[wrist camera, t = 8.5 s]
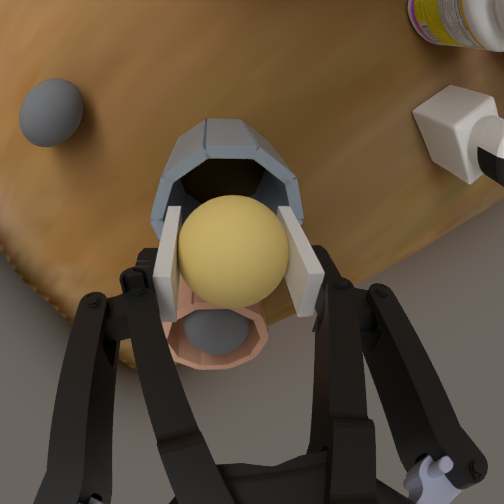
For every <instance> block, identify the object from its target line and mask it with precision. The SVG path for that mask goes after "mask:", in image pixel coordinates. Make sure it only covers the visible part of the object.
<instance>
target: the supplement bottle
mask: <svg viewBox="0 0 504 504" xmlns="http://www.w3.org/2000/svg"><path fill="white" fill-rule="evenodd" d="M408 15H409V18H410V21H411V23H412V25H413V27H414V28H415V30H416V31H417V32H418V34H419V35H420V36H422V37H423V38H424V39H425V40H427V41H428V42H430V43H433V44H437V45H448V46H460V47H469V48H477V49H483V50H489V51H495V52H504V0H409V1H408Z"/></svg>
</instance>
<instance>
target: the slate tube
mask: <svg viewBox="0 0 504 504" xmlns="http://www.w3.org/2000/svg"><path fill="white" fill-rule="evenodd" d="M208 158H226V159H254V160H255V161H256V162H258V163H259V164H260V165H262V166H263V167H264V168H265V169H266V170H265V173H264V175H263V177H262V179H261V182H260V184H259V186H258V188H257V191H256V193H255V194H253V195H251V196H250V197H249V198H252V199H254V200H256V201H259V202H261V203H262V204H264V205H265V206H267V207H268V208H269V209H270V210H271V211H272V212H273V213H274V214H275V215H276V216H277V210H278V206H290V207H291V209H292V211H293V213H294V215H295V217H296V218H297V220H298V222H299V224H300V226H301V225H302V223H303V218H304V215H303V209H302V203H301V198H300V192H299V187H298V181H297V178H296V177H295V175H294V173H293V172H292V171H291V169H290V168H289V167H288V165H287V164H286V163H285V162H284V160H283V159H282V158H281V156H280V155H279V154H278V152H277V151H276V150H275V149H274V147H273V146H272V145H271V144H270V142H269V141H268V140H267V139H266V138H265V137H264V136H263V135H261V134H260V133H259V132H257V131H256V130H255V129H254V128H252V127H251V126H250V125H249V124H247V123H246V122H245V121H243V120H242V121H241V120H240V119H221V118H207V121H206V120H205V119H204V120H203V121H201V122H200V123H198V124H197V125H195V126H194V127H193V128H191V129H190V130H188V131H187V132H185V133H184V134H183V135H181V136H180V137H178V139H177V141H176V143H175V145H174V148H173V150H172V152H171V154H170V157H169V159H168V161H167V164H166V166H165V169H164V171H163V174H162V176H161V179H160V182H159V186H158V189H157V193H156V197H155V201H154V204H153V208H152V212H151V216H150V219H151V221H150V222H151V224H152V227H153V229H154V231H155V233H156V235H157V237H158V239H159V241H160V239H161V235H162V231H163V226H164V222H165V218H166V214H167V210H168V206H181V218H182V226H183V224H184V222H185V221H186V219H187V218H188V217H189V215H190V214H191V213H192V212H193V211H194V210H195V209H197V208H198V207H199V206H200V205H202V203H200V202H199V201H197V200H196V199H194V198H193V197H191V196H190V195H188V194H187V193H185V190H184V187H183V185H182V182H181V179H180V178H181V177H182V176H184V175H185V174H186V173H188V172H189V171H191V170H192V169H194V168H195V167H196V166H198V165H199V164H201V163H202V162H204V161H205V160H207V159H208Z"/></svg>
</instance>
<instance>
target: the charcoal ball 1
mask: <svg viewBox="0 0 504 504" xmlns="http://www.w3.org/2000/svg"><path fill="white" fill-rule="evenodd" d="M83 110H84V105H83V99H82V96H81V93H80V91H79V90H78V88H77V87H76V86H75V85H74V84H72V83H71V82H69V81H67V80H64V79H50V80H46V81H44V82H42V83H40V84H38V85H37V86H35V87H34V88H33V89H32V90H31V91H30V92H29V93H28V95H27V96H26V98H25V99H24V101H23V103H22V106H21V109H20V116H19V122H20V127H21V130H22V132H23V134H24V136H25V137H26V138H27V139H28V140H29V141H30V142H31V143H33V144H35V145H37V146H41V147H51V146H56V145H58V144H61V143H62V142H64V141H66V140H67V139H68V138H69V137H71V136H72V135H73V133H74V132H75V131H76V129H77V128H78V126H79V124H80V122H81V119H82V116H83Z"/></svg>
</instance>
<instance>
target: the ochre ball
mask: <svg viewBox="0 0 504 504" xmlns="http://www.w3.org/2000/svg"><path fill="white" fill-rule="evenodd" d="M177 259H178V267H179V270H180V273H181V275H182V277H183V279H184V281H185V282H186V284H187V285H188V287H189V288H190V289H191V290H192V291H193V292H194V293H195V294H196V295H197V296H199V297H200V298H201V299H203V300H204V301H206V302H208V303H210V304H213V305H216V306H219V307H224V308H241V307H246V306H250V305H253V304H255V303H257V302H259V301H261V300H263V299H264V298H266V297H267V296H268V295H270V294H271V293H272V292H273V291H274V290H275V288H276V287H277V286H278V285H279V283H280V282H281V280H282V278H283V276H284V274H285V272H286V269H287V265H288V260H289V243H288V238H287V234H286V232H285V229H284V227H283V225H282V223H281V222H280V220H279V218H278V217H277V216H276V215H275V214H274V213H273V212H272V211H271V210H270V209H269V208H268V207H267V206H265V205H264V204H262V203H261V202H259V201H256V200H254V199H252V198H249V197H245V196H239V195H226V196H220V197H217V198H213V199H211V200H209V201H207V202H205V203H203V204H202V205H200V206H199V207H198V208H197V209H195V210H194V211H193V212H192V213H191V214H190V215H189V217H188V218H187V219H186V221H185V222H184V224H183V226H182V228H181V230H180V233H179V236H178V242H177Z"/></svg>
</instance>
